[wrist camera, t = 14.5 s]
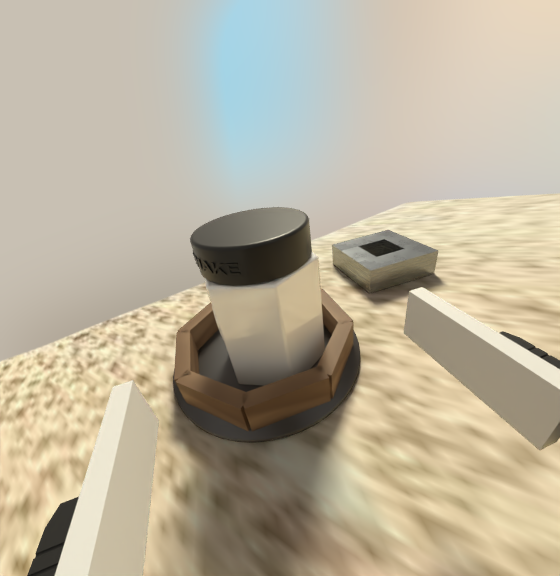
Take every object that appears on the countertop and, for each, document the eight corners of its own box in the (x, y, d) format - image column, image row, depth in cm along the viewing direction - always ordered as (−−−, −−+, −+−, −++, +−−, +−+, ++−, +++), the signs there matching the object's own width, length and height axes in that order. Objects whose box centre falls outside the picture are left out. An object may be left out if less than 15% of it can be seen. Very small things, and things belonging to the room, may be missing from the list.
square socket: (386, 248, 40) (388, 229, 38) (434, 273, 32) (438, 250, 30) (333, 264, 38) (332, 244, 36) (369, 293, 30) (370, 270, 29)
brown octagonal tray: (312, 285, 33) (310, 265, 32) (405, 389, 19) (410, 361, 18) (177, 325, 30) (168, 305, 29) (169, 485, 16) (151, 460, 15)
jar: (224, 336, 27) (186, 222, 21) (297, 312, 28) (282, 200, 22) (242, 409, 19) (191, 264, 13) (340, 370, 21) (335, 226, 15)
